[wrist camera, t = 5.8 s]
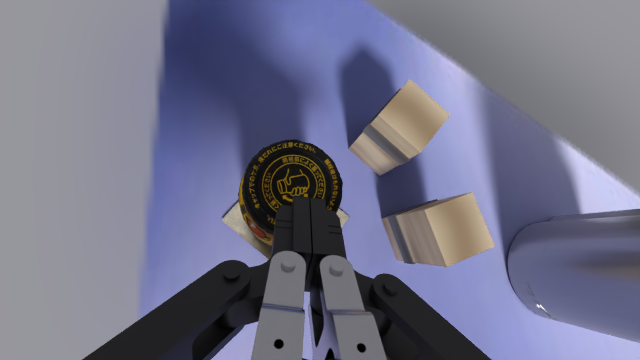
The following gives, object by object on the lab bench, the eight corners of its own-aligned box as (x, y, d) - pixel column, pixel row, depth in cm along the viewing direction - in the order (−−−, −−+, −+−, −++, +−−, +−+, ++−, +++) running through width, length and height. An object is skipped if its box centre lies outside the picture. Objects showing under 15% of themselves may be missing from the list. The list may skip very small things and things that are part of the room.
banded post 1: (373, 119, 31) (409, 77, 23) (404, 147, 31) (452, 114, 23) (347, 148, 29) (376, 115, 22) (379, 177, 29) (420, 154, 22)
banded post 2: (418, 203, 30) (472, 190, 22) (435, 245, 29) (496, 247, 21) (380, 217, 29) (422, 208, 21) (396, 261, 28) (446, 269, 20)
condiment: (277, 158, 28) (287, 98, 17) (348, 217, 28) (408, 198, 17) (221, 220, 26) (188, 201, 15) (298, 283, 26) (326, 315, 15)
